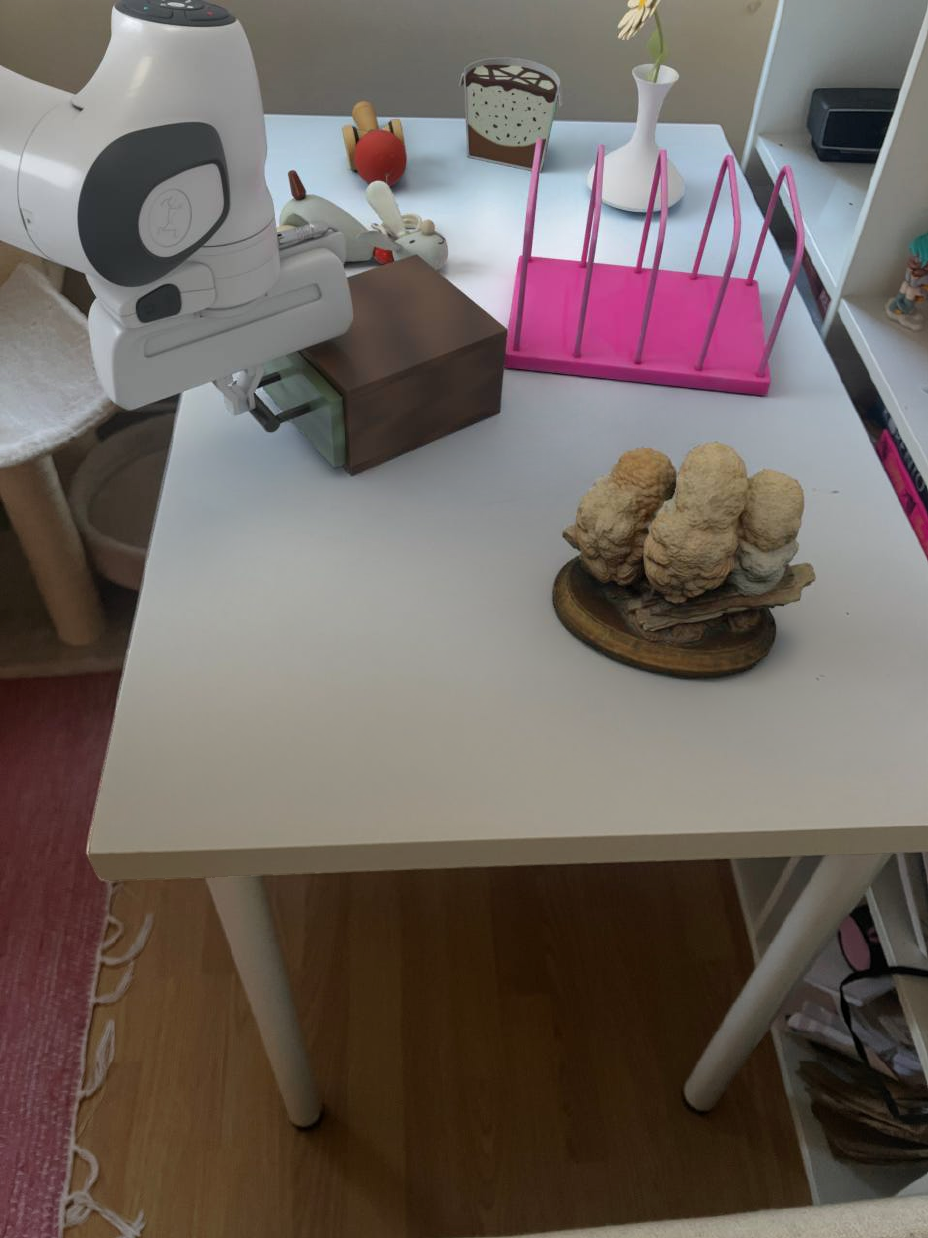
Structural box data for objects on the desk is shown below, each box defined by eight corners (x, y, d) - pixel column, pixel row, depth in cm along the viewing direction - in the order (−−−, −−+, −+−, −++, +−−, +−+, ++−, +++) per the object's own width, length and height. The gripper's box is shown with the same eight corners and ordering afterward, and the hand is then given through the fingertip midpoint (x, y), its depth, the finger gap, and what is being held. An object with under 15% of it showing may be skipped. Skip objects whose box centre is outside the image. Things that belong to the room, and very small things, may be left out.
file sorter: (517, 270, 106) (531, 119, 94) (753, 295, 106) (798, 145, 93) (502, 369, 95) (517, 212, 83) (766, 397, 94) (820, 243, 82)
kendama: (328, 138, 126) (345, 189, 113) (333, 83, 122) (352, 130, 109) (388, 147, 128) (412, 198, 115) (396, 94, 124) (421, 140, 111)
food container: (566, 153, 124) (577, 67, 116) (552, 175, 120) (563, 87, 112) (472, 133, 126) (476, 47, 118) (455, 154, 122) (459, 67, 115)
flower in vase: (603, 165, 122) (640, -75, 103) (693, 188, 120) (748, -54, 100) (565, 212, 115) (597, -37, 95) (660, 238, 112) (713, -13, 93)
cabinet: (351, 476, 85) (346, 391, 78) (272, 389, 92) (261, 305, 85) (500, 412, 91) (508, 329, 84) (415, 336, 98) (416, 253, 91)
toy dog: (453, 281, 105) (457, 198, 98) (273, 299, 101) (264, 214, 94) (427, 221, 112) (428, 140, 105) (259, 235, 108) (249, 152, 102)
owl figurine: (788, 586, 79) (865, 414, 66) (780, 704, 72) (865, 537, 59) (565, 537, 81) (596, 361, 68) (535, 647, 74) (563, 474, 61)
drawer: (289, 487, 82) (281, 421, 77) (218, 405, 88) (207, 338, 83) (475, 409, 90) (480, 344, 84) (398, 338, 96) (398, 273, 91)
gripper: (321, 195, 77) (332, 348, 87) (60, 271, 69) (107, 430, 79) (364, 232, 74) (370, 386, 84) (96, 316, 65) (140, 475, 76)
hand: (241, 408), depth 82 cm, fingers closed
